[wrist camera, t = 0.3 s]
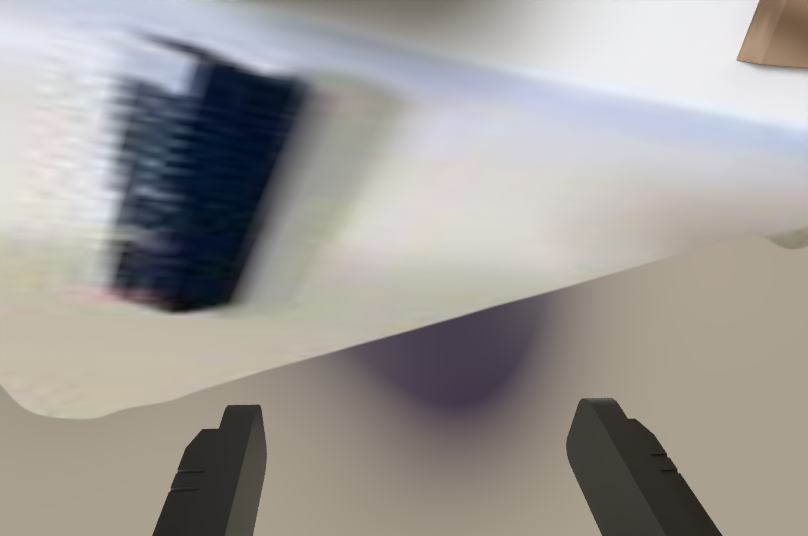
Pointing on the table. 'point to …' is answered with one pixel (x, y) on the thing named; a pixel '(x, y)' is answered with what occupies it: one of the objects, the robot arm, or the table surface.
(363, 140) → the table surface
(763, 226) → the table surface
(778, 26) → the hole plate
